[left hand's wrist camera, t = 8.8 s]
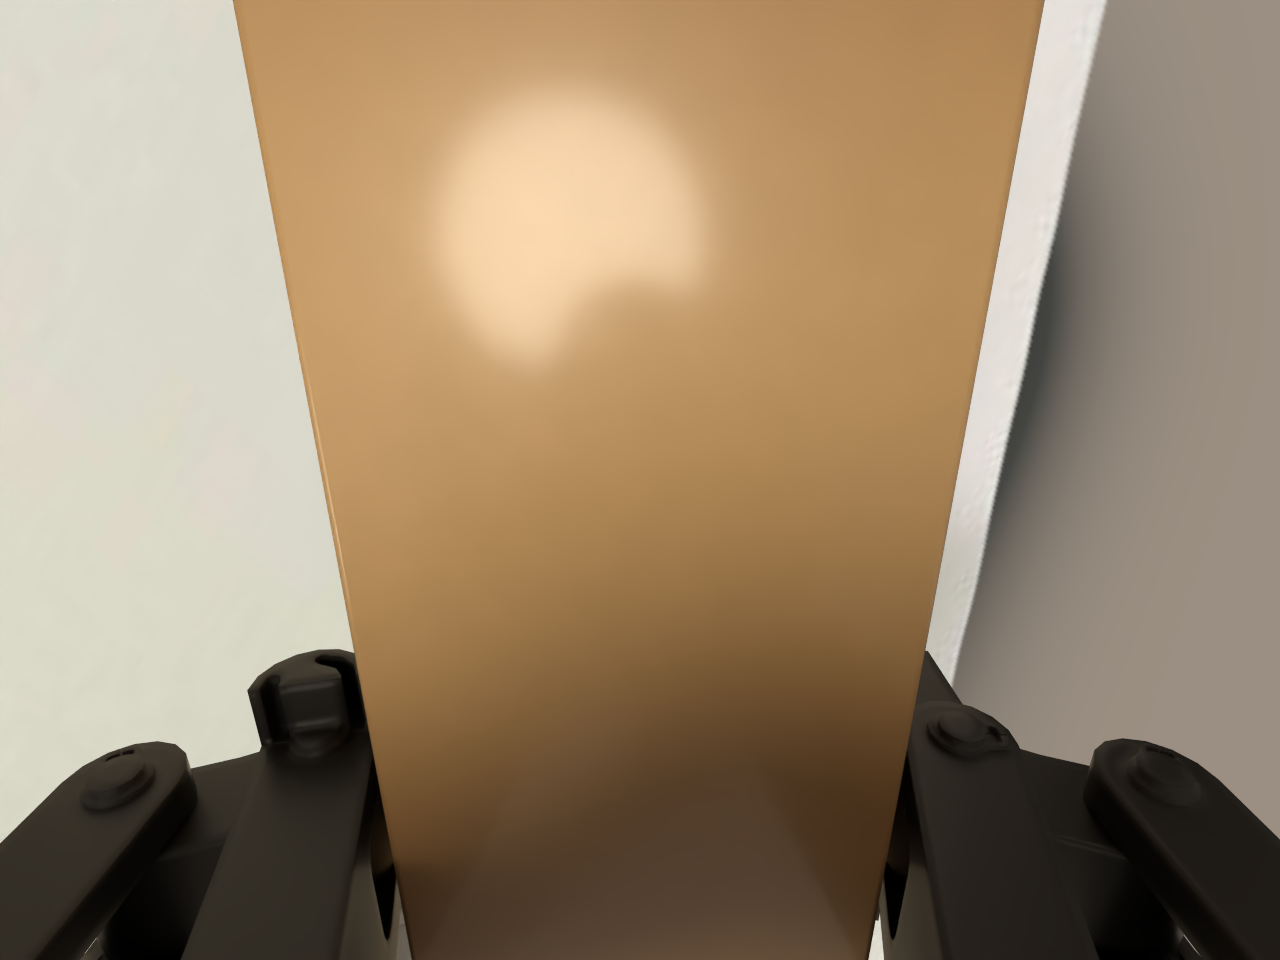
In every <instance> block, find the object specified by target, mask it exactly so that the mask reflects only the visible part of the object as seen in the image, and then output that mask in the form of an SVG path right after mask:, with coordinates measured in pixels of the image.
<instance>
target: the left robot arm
mask: <svg viewBox="0 0 1280 960" xmlns="http://www.w3.org/2000/svg"><path fill="white" fill-rule="evenodd" d="M247 691H248V695H249V699H250V703H251V706H252V710H253V714H254V718H255V722H256V726H257V730H258V733H259V737H260V741H261V745H262V747H261V749H260V752H257V753H254V754H250V755H247V756H244V757H240V758H236V759H231V760H227V761H223V762H218V763H214V764H209V765H205V766H201V767H196V768H192V769H191V768H190V765H189V762H188V759H187V755H186V753H185V752H184V751H183V750H182V749H180V748H179V747H178V746H177V745H176V744H170V743H165V742H159V741H156V742H148V743H140V744H134V745H131V746H128V747H124V748H121V749H118V750H115V751H112V752H109V753H107V754H105V755H103V756H101V757H100V758H98V759H96V760H94V761H92V762H90V763H88V764H86V765H84V766H83V767H81V768H80V769H79V770H78V771H76V772H75V773H74V774H72V775H71V776H70V777H69V778H67V779H66V780H65V781H64V782H62V783H61V784H60V785H59V786H58V787H57V788H56V789H55V790H54V791H53V792H52V793H51V794H50V795H49V796H48V797H47V798H46V799H45V800H44V801H43V802H42V803H41V804H40V805H39V806H38V807H37V808H36V809H35V810H34V811H33V812H32V813H31V814H30V815H29V816H28V817H27V818H26V819H25V820H24V821H23V822H22V823H21V824H20V825H19V826H18V827H17V828H15V829H14V830H13V831H12V832H11V833H10V834H9V835H8V836H7V837H6V838H5V839H4V840H3V841H2V842H1V843H0V960H412V959H411V954H410V948H409V943H408V937H407V932H406V927H405V921H404V916H403V911H402V905H401V900H400V894H399V889H398V884H397V878H396V873H395V868H394V862H393V857H392V852H391V846H390V841H389V835H388V830H387V825H386V819H385V814H384V809H383V803H382V798H381V792H380V787H379V782H378V776H377V771H376V766H375V760H374V755H373V750H372V744H371V739H370V733H369V728H368V723H367V717H366V712H365V707H364V701H363V696H362V691H361V685H360V680H359V674H358V669H357V664H356V658H355V653H352V652H348V651H344V650H340V649H329V650H315V651H311V652H307V653H302V654H298V655H295V656H293V657H290V658H288V659H286V660H284V661H281V662H279V663H277V664H275V665H273V666H272V667H271V668H269V669H268V670H266V671H265V672H264V673H262V674H261V675H259V676H258V677H257V678H256V680H255V681H254V682H253V684H252V685H251V686H250V688H249V689H248V690H247ZM879 914H880V919H881V930H882V940H883V951H884V960H1280V839H1279V838H1278V837H1277V836H1276V835H1275V834H1274V833H1273V832H1272V831H1271V830H1270V829H1268V828H1267V826H1265V825H1264V824H1263V823H1262V822H1261V821H1260V820H1259V819H1258V818H1257V817H1256V816H1255V815H1254V814H1253V813H1252V812H1251V811H1250V810H1249V809H1248V808H1247V807H1246V806H1245V805H1244V804H1243V803H1242V802H1241V801H1240V800H1239V799H1238V798H1237V797H1236V796H1235V795H1234V794H1233V793H1232V792H1231V791H1230V790H1229V789H1228V788H1227V787H1226V786H1225V785H1224V784H1223V783H1222V782H1221V781H1219V780H1218V779H1217V778H1216V777H1215V776H1213V775H1212V774H1211V773H1209V772H1208V771H1207V770H1205V769H1204V768H1203V767H1202V766H1200V765H1199V764H1198V763H1196V762H1194V761H1192V760H1190V759H1188V758H1187V757H1185V756H1183V755H1181V754H1179V753H1177V752H1175V751H1173V750H1171V749H1168V748H1165V747H1162V746H1159V745H1156V744H1153V743H1150V742H1147V741H1140V740H1131V739H1123V738H1122V739H1117V740H1111V741H1105V742H1103V743H1102V744H1101V745H1100V746H1099V747H1098V748H1097V749H1095V751H1094V753H1093V757H1092V760H1091V763H1090V766H1087V765H1083V764H1078V763H1074V762H1069V761H1065V760H1061V759H1056V758H1052V757H1047V756H1043V755H1039V754H1036V753H1032V752H1029V751H1025V750H1022V749H1020V748H1019V746H1018V744H1017V742H1016V741H1015V739H1014V738H1013V736H1012V735H1011V733H1010V732H1009V730H1008V729H1007V728H1005V727H1004V726H1003V725H1002V724H1000V723H999V722H998V721H997V720H995V719H994V718H993V717H991V716H989V715H987V714H985V713H983V712H981V711H979V710H977V709H975V708H973V707H970V706H967V705H963V704H962V703H961V701H960V700H959V698H958V697H957V695H956V694H955V692H954V691H953V689H952V687H951V686H950V684H949V683H948V681H947V680H946V678H945V677H944V675H943V674H942V672H941V671H940V669H939V667H938V666H937V664H936V663H935V661H934V660H933V658H932V657H931V655H930V654H929V652H928V651H925V654H924V659H923V665H922V670H921V675H920V681H919V686H918V692H917V697H916V703H915V708H914V714H913V719H912V724H911V730H910V735H909V741H908V746H907V752H906V757H905V762H904V768H903V773H902V779H901V784H900V790H899V795H898V801H897V806H896V811H895V817H894V822H893V828H892V833H891V839H890V844H889V850H888V855H887V860H886V866H885V871H884V877H883V882H882V888H881V893H880V898H879V904H878V909H877V915H876V920H877V921H878V919H879ZM1184 935H1185V936H1186V937H1187V939H1188V940H1189V941H1190V943H1191V944H1192V945H1193V947H1194V948H1195V949H1196V951H1197V952H1198V953H1199V954H1200V955H1199V954H1198V953H1197V952H1196V951H1195V950H1194V949H1193V947H1192V946H1191V945H1190V943H1189V942H1188V941H1187V939H1186V938H1185V937H1184ZM96 938H97V939H96ZM95 939H96V940H95ZM94 940H95V941H94ZM93 942H94V943H93ZM92 943H93V944H92ZM91 944H92V945H91ZM90 945H91V947H90ZM89 947H90V948H89ZM88 948H89V949H88ZM87 949H88V951H87ZM86 951H87V952H86ZM85 952H86V953H85ZM84 953H85V954H84Z"/></svg>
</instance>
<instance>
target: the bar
mask: <svg viewBox="0 0 1280 960" xmlns="http://www.w3.org/2000/svg"><path fill="white" fill-rule="evenodd" d="M1044 1H1045V0H233V3H234V9H235V14H236V20H237V25H238V30H239V36H240V41H241V46H242V52H243V57H244V62H245V68H246V73H247V79H248V84H249V89H250V95H251V100H252V105H253V111H254V116H255V122H256V127H257V132H258V138H259V143H260V148H261V154H262V159H263V164H264V170H265V175H266V181H267V186H268V191H269V197H270V202H271V207H272V213H273V218H274V224H275V229H276V234H277V240H278V245H279V250H280V256H281V261H282V266H283V272H284V277H285V283H286V288H287V293H288V299H289V304H290V309H291V315H292V320H293V326H294V331H295V336H296V342H297V347H298V352H299V358H300V363H301V368H302V374H303V379H304V385H305V390H306V395H307V401H308V406H309V411H310V417H311V422H312V427H313V433H314V438H315V444H316V449H317V454H318V460H319V465H320V470H321V476H322V481H323V487H324V492H325V497H326V503H327V508H328V513H329V519H330V524H331V529H332V535H333V540H334V546H335V551H336V556H337V562H338V567H339V572H340V578H341V583H342V589H343V594H344V599H345V605H346V610H347V615H348V621H349V626H350V631H351V637H352V642H353V648H354V653H355V658H356V664H357V669H358V674H359V680H360V685H361V691H362V696H363V701H364V707H365V712H366V717H367V723H368V728H369V733H370V739H371V744H372V750H373V755H374V760H375V766H376V771H377V776H378V782H379V787H380V792H381V798H382V803H383V809H384V814H385V819H386V825H387V830H388V835H389V841H390V846H391V852H392V857H393V862H394V868H395V873H396V878H397V884H398V889H399V894H400V900H401V905H402V911H403V916H404V921H405V927H406V932H407V937H408V943H409V948H410V954H411V959H412V960H868V958H869V953H870V947H871V942H872V937H873V931H874V926H875V920H876V915H877V909H878V904H879V898H880V893H881V888H882V882H883V877H884V871H885V866H886V860H887V855H888V850H889V844H890V839H891V833H892V828H893V822H894V817H895V811H896V806H897V801H898V795H899V790H900V784H901V779H902V773H903V768H904V762H905V757H906V752H907V746H908V741H909V735H910V730H911V724H912V719H913V714H914V708H915V703H916V697H917V692H918V686H919V681H920V675H921V670H922V665H923V659H924V654H925V648H926V643H927V637H928V632H929V626H930V621H931V616H932V610H933V605H934V599H935V594H936V588H937V583H938V578H939V572H940V567H941V561H942V556H943V550H944V545H945V539H946V534H947V529H948V523H949V518H950V512H951V507H952V501H953V496H954V490H955V485H956V480H957V474H958V469H959V463H960V458H961V452H962V447H963V442H964V436H965V431H966V425H967V420H968V414H969V409H970V403H971V398H972V393H973V387H974V382H975V376H976V371H977V365H978V360H979V354H980V349H981V344H982V338H983V333H984V327H985V322H986V316H987V311H988V306H989V300H990V295H991V289H992V284H993V278H994V273H995V267H996V262H997V257H998V251H999V246H1000V240H1001V235H1002V229H1003V224H1004V219H1005V213H1006V208H1007V202H1008V197H1009V191H1010V186H1011V180H1012V175H1013V170H1014V164H1015V159H1016V153H1017V148H1018V142H1019V137H1020V131H1021V126H1022V121H1023V115H1024V110H1025V104H1026V99H1027V93H1028V88H1029V83H1030V77H1031V72H1032V66H1033V61H1034V55H1035V50H1036V44H1037V39H1038V34H1039V28H1040V23H1041V17H1042V12H1043V6H1044Z"/></svg>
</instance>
